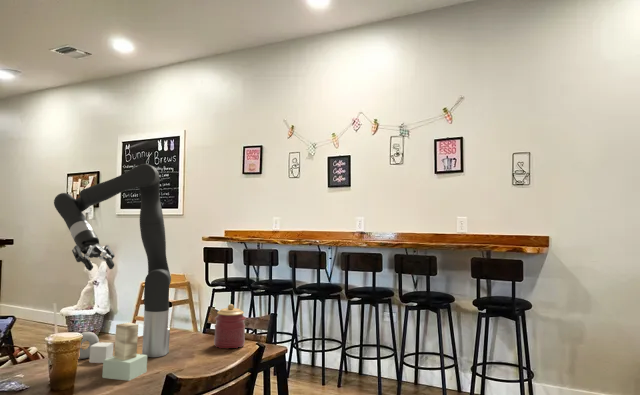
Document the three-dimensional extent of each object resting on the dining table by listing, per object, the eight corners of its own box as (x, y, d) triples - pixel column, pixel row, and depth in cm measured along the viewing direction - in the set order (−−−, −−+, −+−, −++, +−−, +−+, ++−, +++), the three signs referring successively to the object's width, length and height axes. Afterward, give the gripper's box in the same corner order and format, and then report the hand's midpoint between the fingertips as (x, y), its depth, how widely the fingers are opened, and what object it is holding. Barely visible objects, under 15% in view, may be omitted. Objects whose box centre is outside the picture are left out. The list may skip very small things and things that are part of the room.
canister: (207, 346, 203) (209, 304, 205) (228, 340, 214) (229, 300, 216) (230, 351, 197) (232, 307, 198) (250, 345, 208) (252, 304, 209)
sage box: (120, 369, 168) (121, 352, 169) (146, 372, 166) (147, 355, 167) (102, 378, 159) (103, 360, 159) (129, 381, 157) (130, 362, 157)
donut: (72, 362, 175) (74, 334, 176) (68, 360, 177) (70, 332, 178) (100, 357, 183) (101, 330, 183) (96, 355, 185) (97, 329, 186)
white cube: (89, 362, 175) (90, 346, 176) (96, 358, 181) (97, 342, 182) (105, 363, 175) (106, 346, 176) (112, 358, 181) (113, 342, 182)
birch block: (126, 354, 166) (128, 322, 167) (136, 357, 164) (138, 324, 165) (114, 357, 162) (116, 324, 163) (123, 360, 159) (125, 326, 160)
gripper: (70, 228, 173) (89, 262, 166) (105, 229, 185) (124, 260, 179) (61, 242, 175) (78, 276, 169) (96, 242, 188) (113, 274, 181)
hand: (102, 268), depth 174 cm, fingers open, 8 cm apart
